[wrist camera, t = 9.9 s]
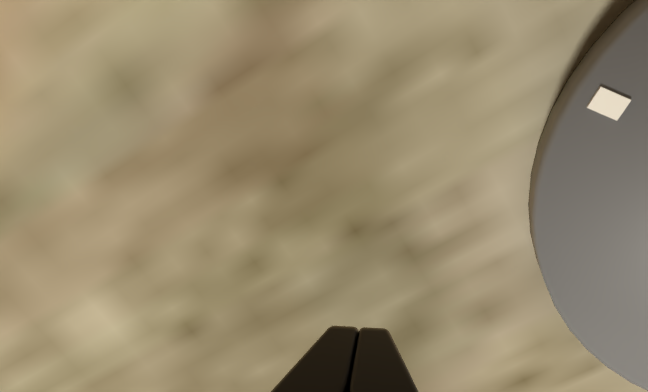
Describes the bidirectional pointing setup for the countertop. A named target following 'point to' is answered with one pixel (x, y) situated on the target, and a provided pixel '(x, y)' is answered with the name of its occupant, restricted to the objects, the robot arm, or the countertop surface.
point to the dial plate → (599, 198)
